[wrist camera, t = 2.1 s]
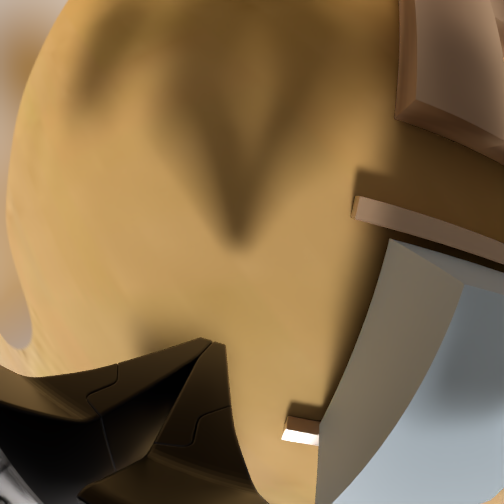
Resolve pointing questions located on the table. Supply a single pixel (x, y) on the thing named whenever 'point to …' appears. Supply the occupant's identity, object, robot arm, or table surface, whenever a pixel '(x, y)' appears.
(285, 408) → the table surface
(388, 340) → the cover
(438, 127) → the board
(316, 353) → the table surface
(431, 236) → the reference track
